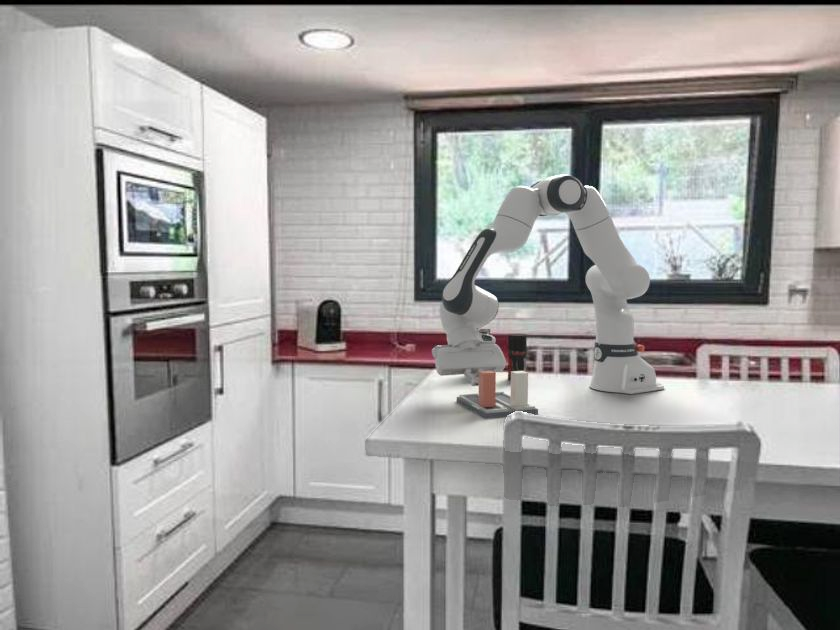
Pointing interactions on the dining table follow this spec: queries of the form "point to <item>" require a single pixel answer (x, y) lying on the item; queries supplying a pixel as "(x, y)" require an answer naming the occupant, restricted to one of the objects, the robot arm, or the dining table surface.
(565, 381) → the dining table surface
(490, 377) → the block
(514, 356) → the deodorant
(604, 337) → the robot arm
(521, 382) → the block
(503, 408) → the slotted fader panel
